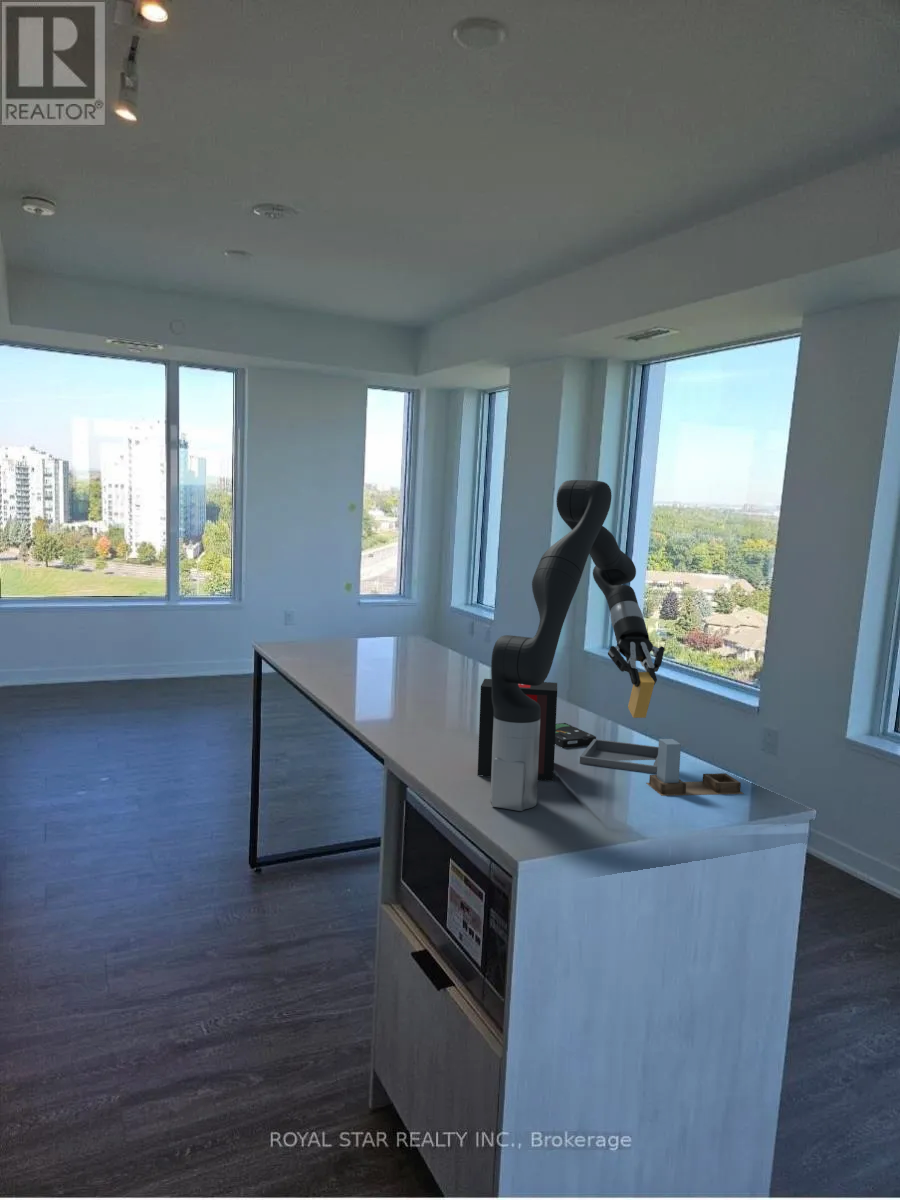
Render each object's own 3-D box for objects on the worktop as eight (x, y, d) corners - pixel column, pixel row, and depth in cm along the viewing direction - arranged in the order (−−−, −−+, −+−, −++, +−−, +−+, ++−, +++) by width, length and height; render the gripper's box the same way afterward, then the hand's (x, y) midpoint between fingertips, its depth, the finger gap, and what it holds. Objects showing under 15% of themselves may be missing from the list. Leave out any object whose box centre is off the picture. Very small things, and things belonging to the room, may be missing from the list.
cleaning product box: (553, 769, 178) (557, 682, 176) (553, 781, 169) (557, 690, 167) (481, 763, 180) (484, 678, 178) (477, 775, 171) (480, 686, 169)
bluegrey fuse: (678, 791, 160) (680, 744, 159) (664, 792, 159) (667, 744, 158) (669, 785, 164) (672, 738, 163) (656, 785, 163) (658, 739, 162)
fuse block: (743, 800, 160) (744, 784, 160) (661, 802, 157) (662, 785, 157) (724, 787, 168) (725, 772, 168) (645, 789, 165) (646, 773, 165)
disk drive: (596, 747, 199) (564, 731, 213) (597, 736, 199) (565, 721, 212) (562, 750, 195) (532, 735, 208) (563, 740, 195) (532, 724, 208)
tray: (655, 780, 172) (656, 766, 171) (579, 769, 178) (579, 756, 177) (663, 759, 187) (664, 747, 187) (593, 750, 194) (594, 738, 193)
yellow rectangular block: (645, 717, 179) (654, 682, 174) (633, 717, 179) (642, 682, 174) (640, 707, 183) (648, 672, 178) (627, 707, 182) (636, 672, 177)
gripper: (604, 614, 183) (620, 675, 172) (661, 615, 185) (680, 675, 174) (596, 633, 188) (611, 694, 178) (651, 633, 190) (669, 693, 180)
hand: (645, 684), depth 176 cm, fingers closed on yellow rectangular block, 3 cm apart
